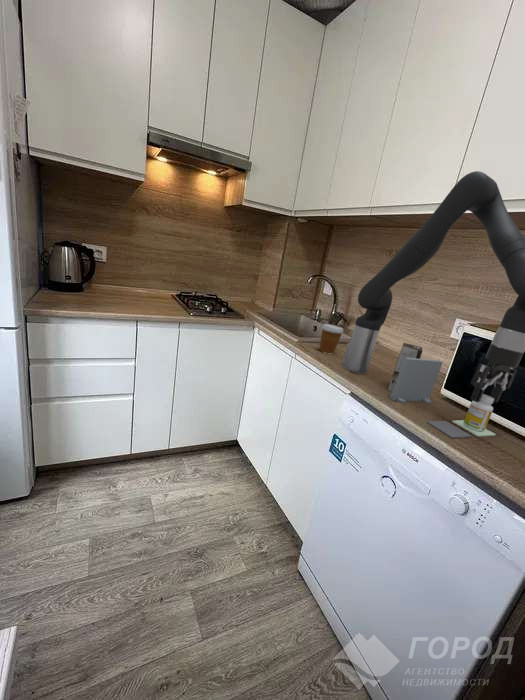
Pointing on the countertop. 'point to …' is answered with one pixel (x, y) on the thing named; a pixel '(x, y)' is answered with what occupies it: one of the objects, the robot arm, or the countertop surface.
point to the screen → (416, 380)
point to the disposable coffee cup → (330, 337)
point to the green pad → (477, 433)
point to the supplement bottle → (479, 413)
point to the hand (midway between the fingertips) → (483, 400)
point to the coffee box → (405, 352)
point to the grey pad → (449, 429)
